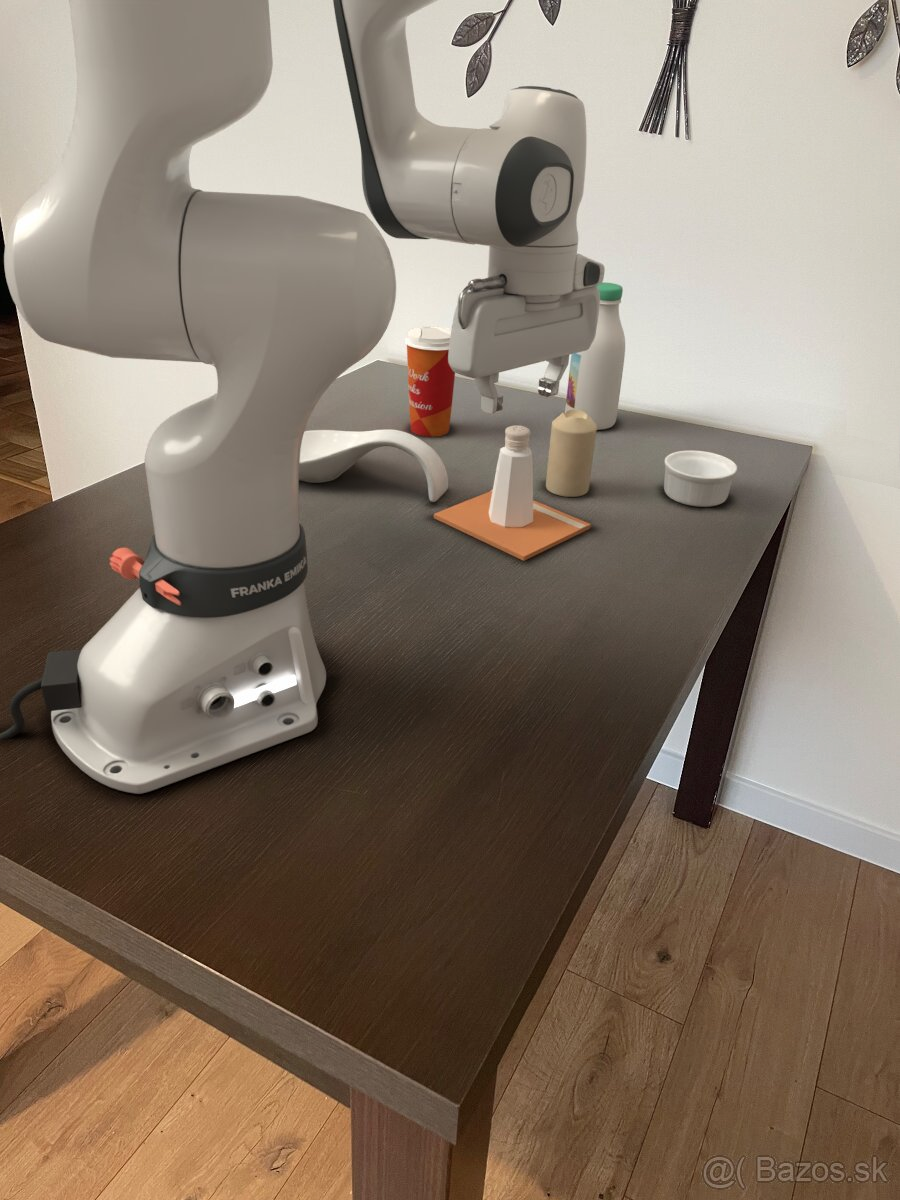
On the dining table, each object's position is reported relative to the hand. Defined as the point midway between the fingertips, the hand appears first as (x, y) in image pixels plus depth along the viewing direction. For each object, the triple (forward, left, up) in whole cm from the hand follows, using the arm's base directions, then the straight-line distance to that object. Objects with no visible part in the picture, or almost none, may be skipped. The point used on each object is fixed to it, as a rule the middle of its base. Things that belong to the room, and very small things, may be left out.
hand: (520, 403), depth 100 cm
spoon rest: (-6, +21, -15) cm, 26 cm away
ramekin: (+24, -10, -15) cm, 30 cm away
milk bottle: (+35, +15, -15) cm, 41 cm away
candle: (+13, +2, -15) cm, 20 cm away
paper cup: (+14, +28, -15) cm, 35 cm away
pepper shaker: (0, 0, -14) cm, 14 cm away
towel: (0, 0, -15) cm, 15 cm away
